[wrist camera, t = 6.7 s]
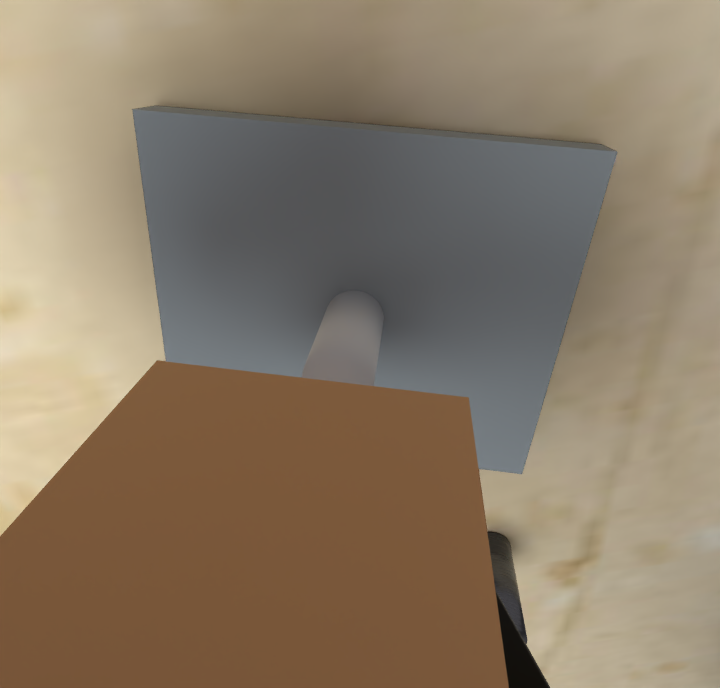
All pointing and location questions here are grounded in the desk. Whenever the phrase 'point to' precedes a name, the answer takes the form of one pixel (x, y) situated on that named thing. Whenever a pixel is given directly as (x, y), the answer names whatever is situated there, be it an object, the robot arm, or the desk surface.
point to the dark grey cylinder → (506, 579)
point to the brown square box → (257, 543)
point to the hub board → (371, 255)
